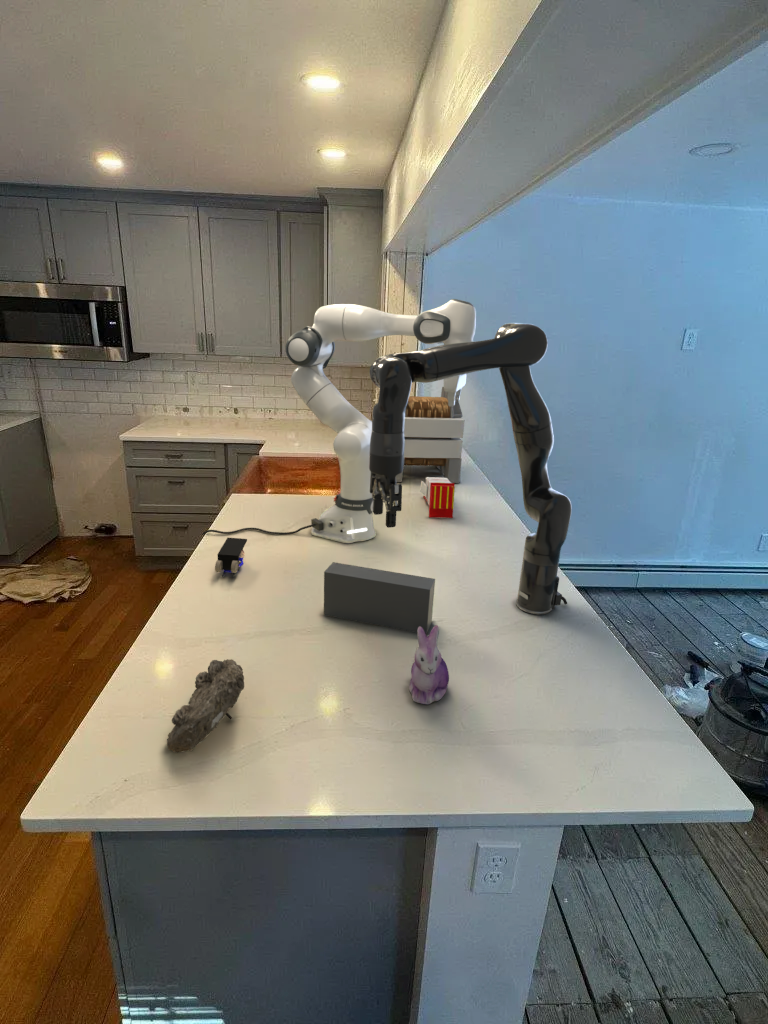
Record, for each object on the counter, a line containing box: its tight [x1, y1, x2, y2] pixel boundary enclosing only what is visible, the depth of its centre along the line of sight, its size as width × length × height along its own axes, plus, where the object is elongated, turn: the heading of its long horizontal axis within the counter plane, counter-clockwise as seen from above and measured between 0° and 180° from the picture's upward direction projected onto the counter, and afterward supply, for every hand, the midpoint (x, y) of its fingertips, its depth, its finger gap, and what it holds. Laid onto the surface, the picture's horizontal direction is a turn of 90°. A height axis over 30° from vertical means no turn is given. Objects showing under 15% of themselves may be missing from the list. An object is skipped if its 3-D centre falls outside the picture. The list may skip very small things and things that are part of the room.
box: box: [323, 561, 436, 635], centre depth 143 cm, size 27×6×12 cm, turn 74°
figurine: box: [408, 624, 450, 705], centre depth 115 cm, size 9×10×15 cm
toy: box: [419, 476, 456, 519], centre depth 228 cm, size 12×13×30 cm
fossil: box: [166, 658, 245, 754], centre depth 106 cm, size 22×10×15 cm
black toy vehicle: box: [214, 537, 248, 578], centre depth 166 cm, size 7×8×15 cm
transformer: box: [396, 386, 465, 484], centre depth 268 cm, size 34×33×41 cm
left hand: (453, 403), depth 174 cm, fingers open, 8 cm apart
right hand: (383, 520), depth 129 cm, fingers open, 8 cm apart
